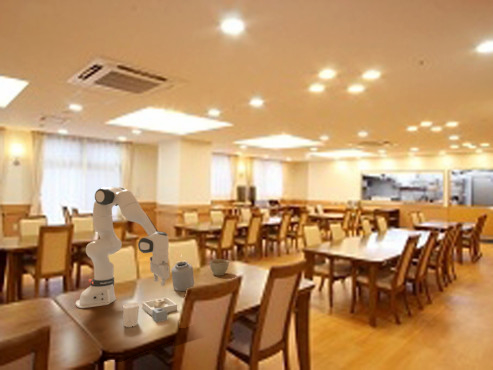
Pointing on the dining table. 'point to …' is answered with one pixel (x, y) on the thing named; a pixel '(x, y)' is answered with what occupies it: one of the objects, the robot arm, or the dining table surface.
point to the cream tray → (169, 307)
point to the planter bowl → (219, 266)
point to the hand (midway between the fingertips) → (159, 283)
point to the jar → (182, 276)
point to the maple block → (159, 303)
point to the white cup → (130, 314)
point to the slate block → (159, 314)
